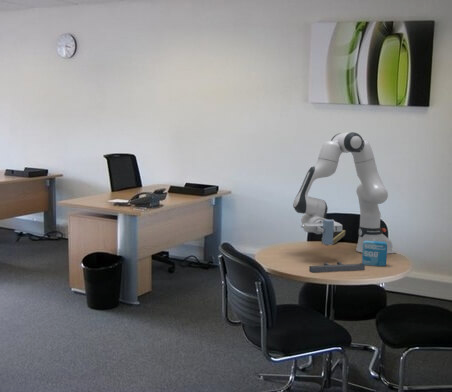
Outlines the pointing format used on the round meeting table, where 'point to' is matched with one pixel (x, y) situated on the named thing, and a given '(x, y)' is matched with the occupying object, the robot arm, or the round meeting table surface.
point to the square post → (328, 232)
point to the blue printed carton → (374, 253)
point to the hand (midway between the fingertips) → (328, 230)
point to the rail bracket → (336, 267)
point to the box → (337, 236)
